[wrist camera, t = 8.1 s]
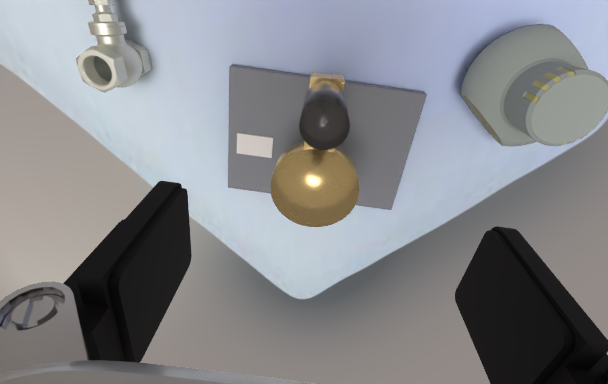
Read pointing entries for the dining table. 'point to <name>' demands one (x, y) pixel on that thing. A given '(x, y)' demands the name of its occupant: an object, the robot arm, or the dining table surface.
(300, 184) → the brass knob with handle
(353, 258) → the dining table surface
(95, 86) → the valve
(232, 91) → the post base
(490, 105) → the air freshener
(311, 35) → the dining table surface
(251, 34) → the dining table surface
